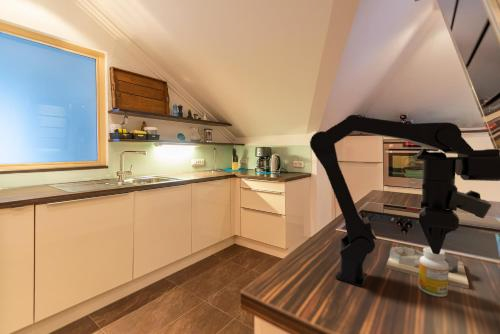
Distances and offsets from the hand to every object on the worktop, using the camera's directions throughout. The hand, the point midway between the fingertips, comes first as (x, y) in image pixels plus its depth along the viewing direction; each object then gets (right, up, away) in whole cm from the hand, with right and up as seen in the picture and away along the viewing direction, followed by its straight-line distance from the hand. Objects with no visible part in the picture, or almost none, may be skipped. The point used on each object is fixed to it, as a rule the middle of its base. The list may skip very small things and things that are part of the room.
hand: (435, 246), depth 54 cm
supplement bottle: (0, -11, +1) cm, 11 cm away
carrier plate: (+6, -10, +12) cm, 17 cm away
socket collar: (+3, -10, +15) cm, 18 cm away
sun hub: (+10, -10, +9) cm, 17 cm away
